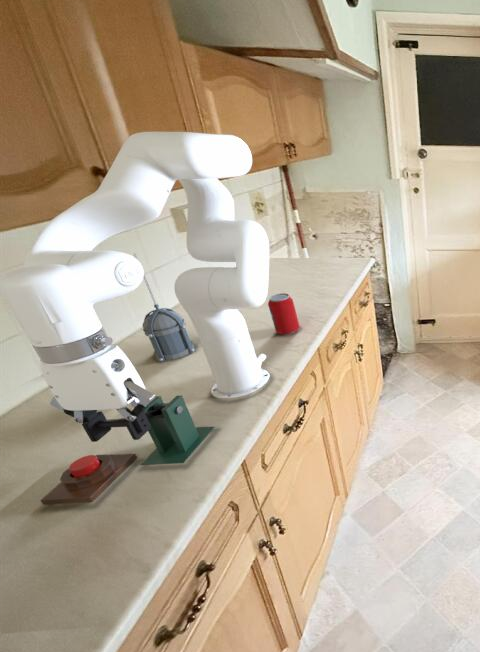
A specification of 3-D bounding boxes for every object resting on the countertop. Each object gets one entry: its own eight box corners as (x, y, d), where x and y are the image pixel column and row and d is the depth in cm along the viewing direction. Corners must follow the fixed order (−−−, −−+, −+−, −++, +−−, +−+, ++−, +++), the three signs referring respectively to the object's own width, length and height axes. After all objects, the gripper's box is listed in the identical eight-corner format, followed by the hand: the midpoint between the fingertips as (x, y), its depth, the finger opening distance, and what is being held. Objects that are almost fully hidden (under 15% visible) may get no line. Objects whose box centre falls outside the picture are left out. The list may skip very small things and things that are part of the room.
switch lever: (128, 430, 67) (128, 416, 67) (96, 432, 66) (97, 417, 66) (183, 414, 79) (183, 402, 79) (156, 415, 78) (156, 403, 78)
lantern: (206, 342, 120) (170, 246, 107) (181, 362, 110) (138, 259, 97) (170, 342, 119) (130, 247, 107) (141, 362, 110) (93, 259, 97)
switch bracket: (186, 467, 77) (163, 419, 72) (142, 469, 77) (117, 421, 72) (216, 430, 86) (199, 386, 81) (178, 432, 86) (157, 387, 81)
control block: (96, 463, 78) (87, 448, 76) (139, 461, 78) (131, 446, 77) (46, 509, 69) (34, 492, 67) (95, 506, 69) (85, 490, 68)
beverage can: (285, 325, 130) (276, 291, 125) (304, 326, 129) (296, 293, 124) (271, 335, 124) (261, 300, 119) (291, 336, 123) (282, 302, 118)
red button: (85, 462, 73) (81, 455, 73) (106, 461, 74) (102, 454, 73) (67, 478, 70) (62, 471, 69) (88, 477, 70) (84, 470, 70)
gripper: (152, 331, 65) (189, 417, 72) (38, 334, 63) (88, 422, 71) (113, 356, 58) (159, 448, 65) (-15, 360, 57) (47, 454, 64)
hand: (122, 434), depth 68 cm, fingers open, 5 cm apart
